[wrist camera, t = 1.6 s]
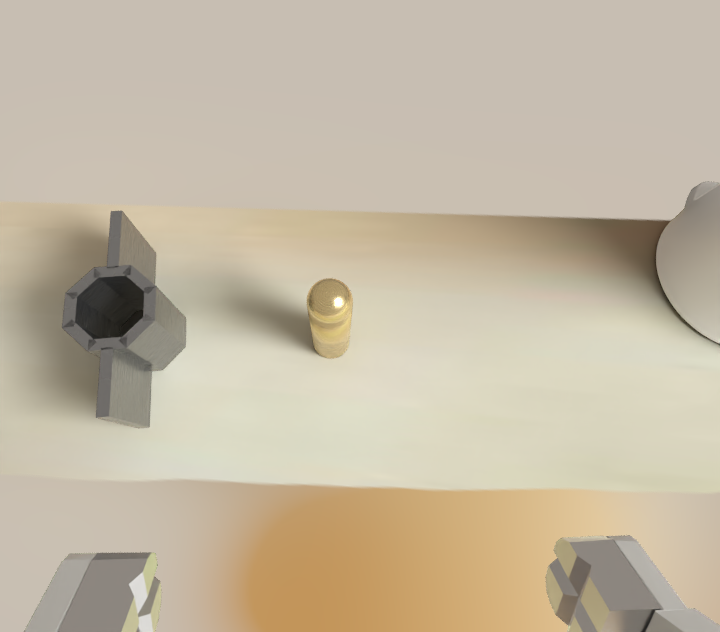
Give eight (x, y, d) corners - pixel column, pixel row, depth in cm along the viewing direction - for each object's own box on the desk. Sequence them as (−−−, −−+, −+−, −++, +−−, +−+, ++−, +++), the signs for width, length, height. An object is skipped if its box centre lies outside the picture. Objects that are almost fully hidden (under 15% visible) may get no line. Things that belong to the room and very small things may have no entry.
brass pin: (347, 322, 41) (351, 269, 30) (350, 356, 40) (355, 314, 29) (311, 325, 40) (303, 272, 30) (314, 360, 39) (306, 317, 29)
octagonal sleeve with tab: (186, 250, 42) (159, 208, 35) (184, 423, 37) (151, 412, 31) (115, 255, 42) (73, 213, 35) (103, 431, 37) (52, 421, 30)
